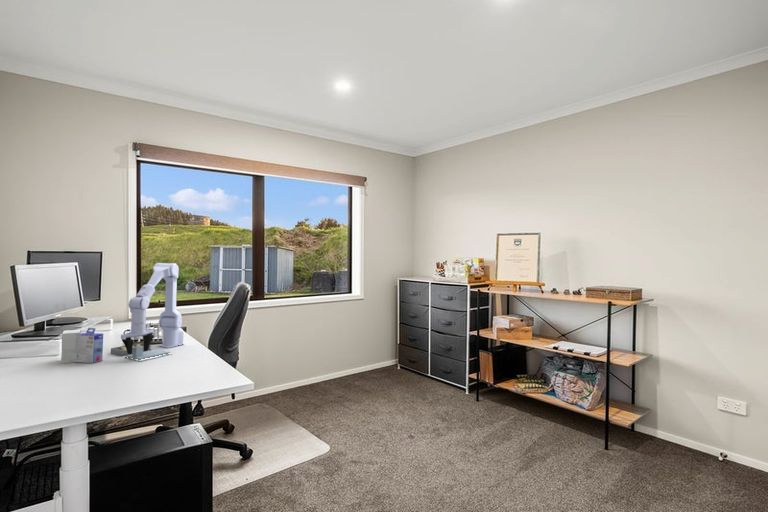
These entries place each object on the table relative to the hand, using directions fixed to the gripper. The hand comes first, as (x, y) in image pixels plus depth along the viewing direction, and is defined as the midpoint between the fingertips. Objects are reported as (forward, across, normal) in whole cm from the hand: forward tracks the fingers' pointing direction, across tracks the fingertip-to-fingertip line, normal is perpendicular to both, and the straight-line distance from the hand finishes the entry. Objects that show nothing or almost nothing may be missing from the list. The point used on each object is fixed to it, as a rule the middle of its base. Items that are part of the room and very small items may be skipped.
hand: (137, 352), depth 187 cm
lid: (+3, -5, 0) cm, 6 cm away
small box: (+3, +17, -20) cm, 27 cm away
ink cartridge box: (+3, +14, -13) cm, 19 cm away
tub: (+3, -5, -14) cm, 15 cm away
